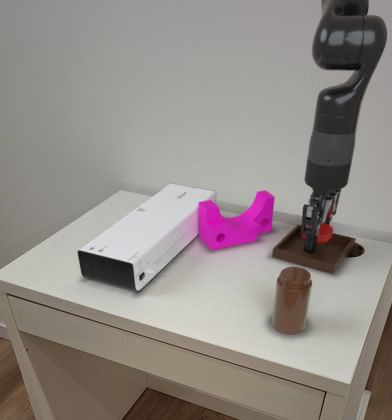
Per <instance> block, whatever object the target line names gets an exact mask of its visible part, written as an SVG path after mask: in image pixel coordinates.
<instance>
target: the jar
mask: <svg viewBox="0 0 392 420" xmlns="http://www.w3.org/2000/svg"><path fill="white" fill-rule="evenodd" d="M311 278H312V275H311V272H310V271H309V270H308V269H306V268H303V267H299V266H288V267H285V268H283V269H282V270H280V272H279V274H278V277H277V278H276V283H275V284H276V285H275V293H274V300H273V308H272V309H273V310H272V319H271V326H272V327H273V329H274V330H275V331H276V332H278V333H281V334H283V335H297V334H300V333H302V332H303V331H304V330H305V328H306V322H307V317H308V310H309V306H310V301H311V294H312V287H313V280H312V279H311Z"/></svg>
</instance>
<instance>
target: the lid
mask: <svg viewBox="0 0 392 420" xmlns="http://www.w3.org/2000/svg"><path fill="white" fill-rule="evenodd" d="M310 228H312V226H310ZM333 233H334V228H333V227H332V226H331V224H330V225H328V224H325V223H324V224H322V225H321V228H320V231H319V235H318V241H317V243H323V242H327V241H329V240H331V239H332V234H333ZM301 235H302V237H303V238H304V239H305V236H306V235H303V234H301Z"/></svg>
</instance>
